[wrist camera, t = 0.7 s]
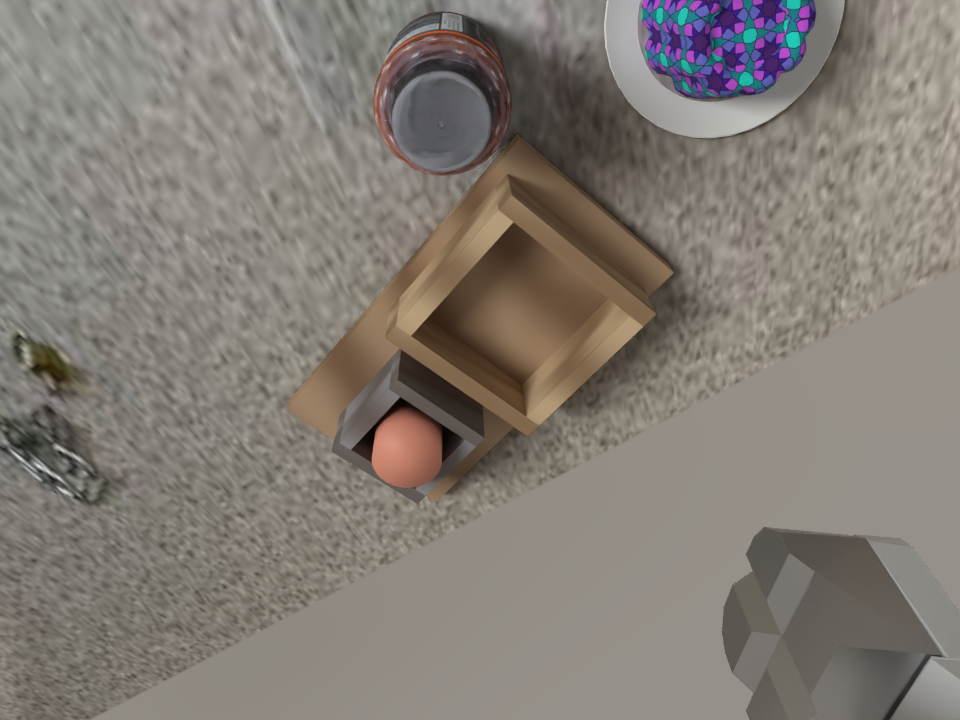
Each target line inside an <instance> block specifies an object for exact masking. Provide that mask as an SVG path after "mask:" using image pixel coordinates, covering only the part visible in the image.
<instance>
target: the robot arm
mask: <svg viewBox="0 0 960 720" xmlns="http://www.w3.org/2000/svg"><path fill="white" fill-rule="evenodd" d="M746 556H747V558H748V560H749V562H750V564H751V567H752V569H753V571H752V572H750V573H749V574H747V575H746V576H744V577H743V578H742V579H740V580H739V581H737V582H736V583H734V584H733V585H732V588H731V590H730V593H729V596H728V598H727V601H726V603H725V606H724V613H723V627H722V635H723V641H724V648H725V653H726V656H727V659H728V662H729V665H730V668H731V670H732V673H733V674H734V675H735V676H736V677H737V678H738V679H739V680H740V681H741V682H742V683H744V684H745V685H746V686H747V687H748V688H749V689H750V690H751V691H752V692H753V695H752V697H751V700H750V702H749V705H748V707H747V710H746V712H747V714H748V717H749V720H960V611H959V609H958V608H957V607H956V605H955V604H954V603H953V601H952V600H951V598H950V597H949V596H948V594H947V593H946V591H945V590H944V588H943V587H942V586H941V584H940V583H939V582H938V580H937V579H936V577H935V576H934V575H933V573H932V572H931V570H930V569H929V568H928V566H927V565H926V564H925V562H924V561H923V559H922V558H921V557H920V555H919V554H918V552H917V551H916V550H915V548H914V547H913V546H911V545H910V544H908V543H907V542H905V541H904V540H902V539H900V538H892V537H879V536H866V535H853V536H850V535H842V534H832V533H820V532H809V531H800V530H789V529H779V528H768V527H764V528H763V529H762V530H761V531H760V532H759V533H758V534H756V535H755V537H754V538H753V540H752V542H751V545H750V547H749V549H748V551H747V553H746Z"/></svg>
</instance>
